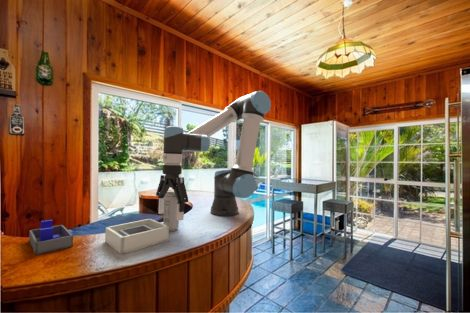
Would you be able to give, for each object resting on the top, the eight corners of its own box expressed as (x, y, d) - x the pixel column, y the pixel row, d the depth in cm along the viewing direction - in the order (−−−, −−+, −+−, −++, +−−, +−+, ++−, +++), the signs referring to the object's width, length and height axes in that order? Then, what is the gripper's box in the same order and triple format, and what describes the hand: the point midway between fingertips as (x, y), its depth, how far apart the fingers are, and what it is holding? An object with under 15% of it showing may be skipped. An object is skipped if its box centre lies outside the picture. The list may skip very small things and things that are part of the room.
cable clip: (58, 246, 70) (59, 227, 70) (39, 249, 67) (40, 230, 67) (57, 235, 79) (57, 218, 79) (40, 238, 76) (41, 221, 76)
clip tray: (62, 234, 82) (62, 224, 82) (72, 246, 71) (73, 235, 71) (29, 240, 75) (29, 230, 75) (35, 255, 64) (35, 243, 64)
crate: (149, 231, 87) (150, 218, 87) (168, 240, 78) (169, 226, 78) (105, 241, 75) (105, 227, 75) (121, 254, 66) (121, 237, 66)
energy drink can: (180, 230, 89) (181, 193, 89) (164, 232, 86) (165, 194, 86) (176, 226, 94) (177, 191, 94) (161, 228, 91) (162, 192, 91)
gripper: (149, 163, 96) (147, 212, 95) (182, 165, 79) (180, 225, 78) (164, 163, 101) (162, 209, 101) (198, 165, 84) (196, 221, 84)
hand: (170, 216), depth 90 cm, fingers open, 13 cm apart
